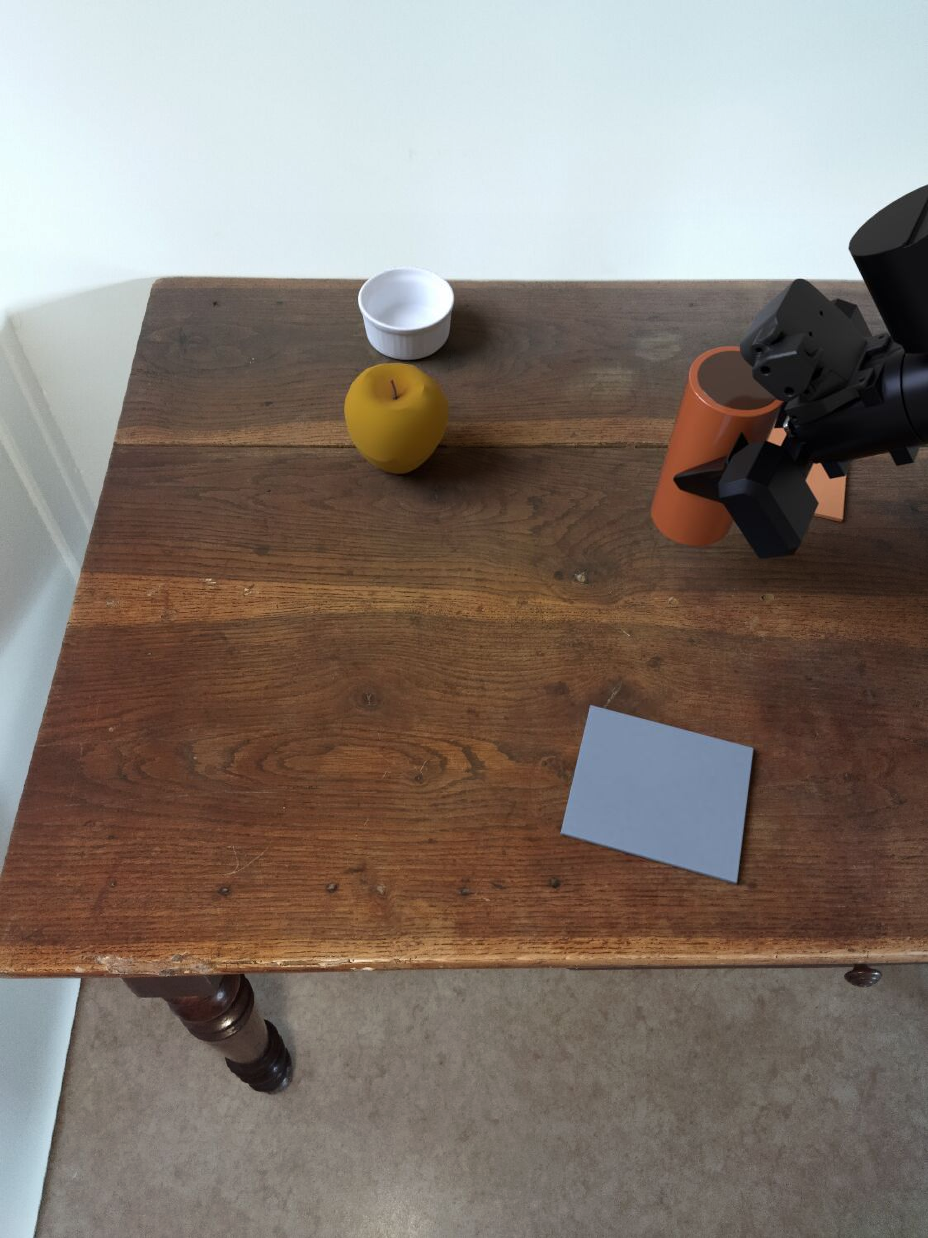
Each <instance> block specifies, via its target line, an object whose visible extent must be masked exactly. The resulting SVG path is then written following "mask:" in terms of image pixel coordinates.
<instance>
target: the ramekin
mask: <svg viewBox="0 0 928 1238" xmlns="http://www.w3.org/2000/svg"><path fill="white" fill-rule="evenodd" d="M357 298H358V299H357V300H358V301H357V302H358V306H359V310H360V313H361V314H362V319H363V322H364V329H365V333H366V337H367V339H368V341H369V344H370V345H371V346H372V347H373V348H374V349H375V350H376V351H377V352H379V353H380V354H382V355H384V356H386V357H389V358H392V359H395V360H402V361H411V360H413V361H414V360H418V359H419V360H420V359H422V358H426V357H429V356H431V355H432V354H433V355H434V353H436V352H437V351H438V350H440V349H441V348H442V347H443V346H444V345H445V344H446V342H447V340H448V339H449V335H450V329H451V320H452V311H453V308H454V303H455V294H454V290H453V288H452V286H451V285H450V284H449V282H448V281H447V280H446V279H445V278H444V277H442V276H441V275H439V274H437V272H433V271H431V270H429V269H426V268H423V267H416V266H399V267H398V266H397V267H392V268H387V269H384V270H381V271H380V272H378V273H376V274H374V275H372V276H371V277H370V278H369V279H367V280H366V281H365V282H364V283H363V285H362V286H361V288H360V289H359V292H358V297H357Z"/></svg>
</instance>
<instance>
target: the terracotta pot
mask: <svg viewBox="0 0 928 1238" xmlns="http://www.w3.org/2000/svg"><path fill="white" fill-rule="evenodd" d="M752 369H753V367H752V366H750V365H749V364H748V363H747V362H746V361H745V360H744V358H743V357H742V355H741V352H740V346H735V345H733V346H732V345H731V346H730V345H727V346H720V347H715V348H712V349H709V350H707V351H705V352H703V353H701V354H700V355H699V356H697V357H696V359H695V360H694V361H693V362H692V364H691V366H690V368H689V371H688V375H687V378H686V381H685V385H684V388H683V392H682V396H681V400H680V403H679V406H678V410H677V413H676V417H675V419H674V423H673V426H672V430H671V434H670V437H669V441H668V444H667V447H666V451H665V455H664V458H663V461H662V465H661V469H660V472H659V476H658V479H657V483H656V486H655V490H654V493H653V495H652V500H651V504H650V515H651V519H652V521H653V523H654V525H655V526H656V528H657V529H658V530H659V532H660V533H662V534H663V536H665V537H667V539H669V540H671V541H673V542H675V543H678V544H681V545H684V546H687V547H688V546H689V547H705V546H710V545H714V544H715V543H718V542H719V541H721V540H722V539H724V538H725V537H726V536H727V535H728V534H729V532H730V531H731V529H732V527H733V525H734V523H735V521H734V520H733V518H732V517H731V515H730V514H729V512H728V511H727V509H726V508H725V506H724V505H723V504H722V503H719V502H716V501H713V500H709V499H706V498H703V497H700V496H697V495H694V494H691V493H688V492H685V491H682V490H680V489H679V488H678V487H677V485H676V484H675V482H674V481H673V478H674V476H675V475H676V474H678V473H681V472H683V471H685V470H687V469H690V468H692V467H695V466H698V465H701V464H704V463H707V462H709V461H712V460H715V459H718V458H721V457H724V456H726V455H728V454H729V452H730V450H731V449H732V447H733V445H734V443H735V441H736V439H737V437H738V435H739V434H740V433H741V432H742V433H743V434H744V436H745V437H746V439H747V441H748V442H749V444H751V443H755V442H760V441H764V440H766V441H768V440H769V438H770V436H771V433H772V431H773V429H774V426H775V424H776V421H777V419H778V417H779V414H780V412H781V410H782V407H783V405H784V403H785V401H779V400H777V399H776V398H775V397H774V396H773V395H772V394H770V393H769V392H768V391H767V390H766V389H765V388H764V387H762V386H761V385H760V384H759V383H758V382H757V381H756V380H754V378H753V376H752Z"/></svg>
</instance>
